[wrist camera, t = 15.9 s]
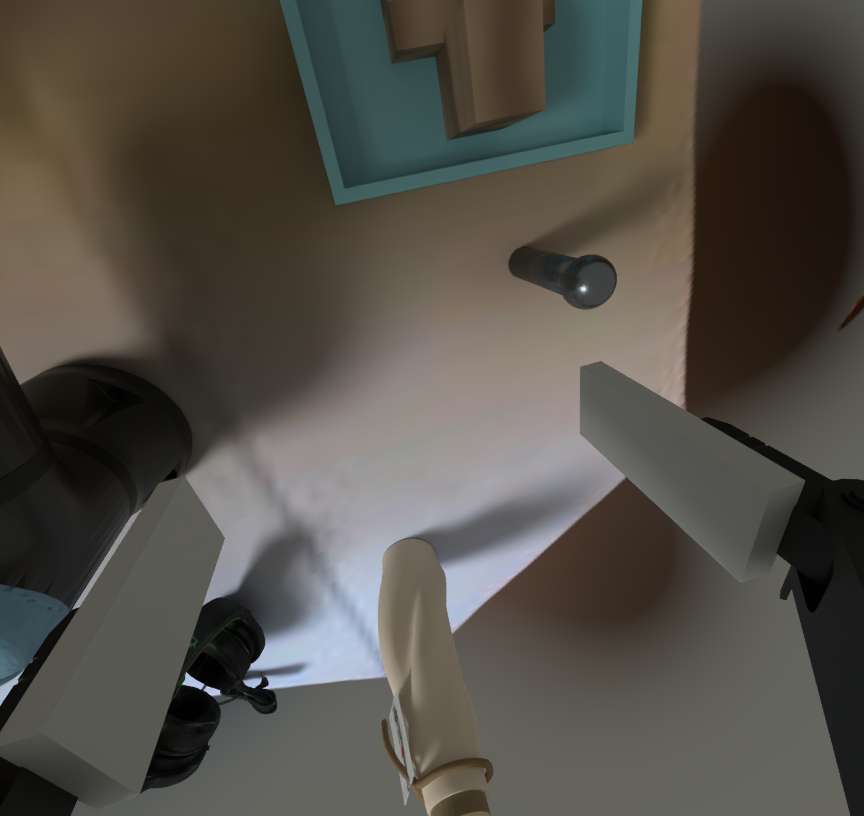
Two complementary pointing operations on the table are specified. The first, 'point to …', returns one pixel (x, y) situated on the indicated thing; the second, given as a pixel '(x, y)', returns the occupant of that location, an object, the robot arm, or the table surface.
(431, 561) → the water bottle
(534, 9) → the tan blocky piece
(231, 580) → the table surface
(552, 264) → the dark grey rod
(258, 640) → the headset
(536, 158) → the tray
